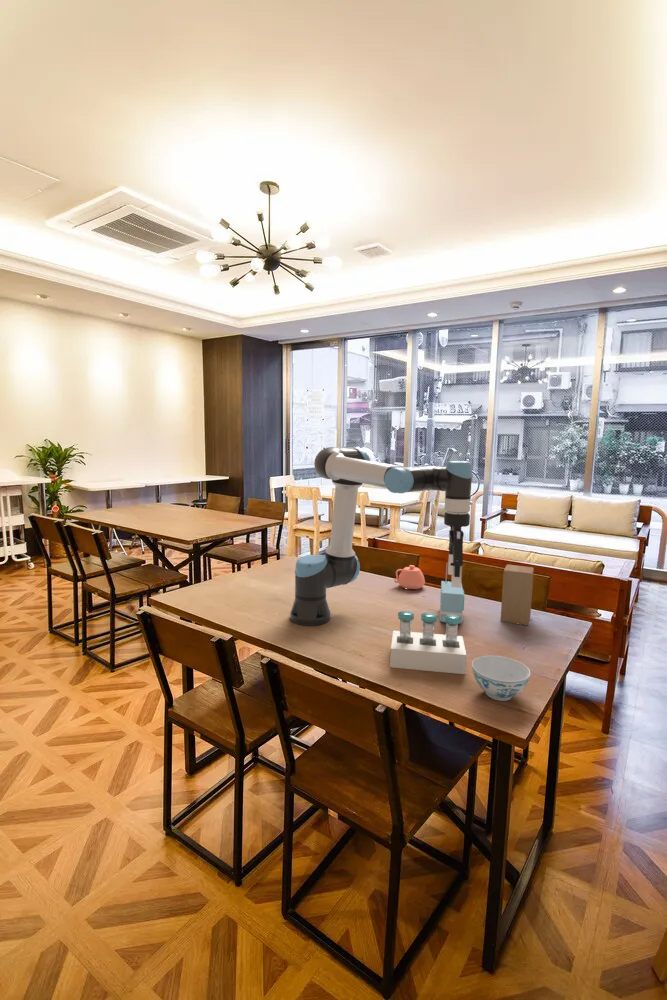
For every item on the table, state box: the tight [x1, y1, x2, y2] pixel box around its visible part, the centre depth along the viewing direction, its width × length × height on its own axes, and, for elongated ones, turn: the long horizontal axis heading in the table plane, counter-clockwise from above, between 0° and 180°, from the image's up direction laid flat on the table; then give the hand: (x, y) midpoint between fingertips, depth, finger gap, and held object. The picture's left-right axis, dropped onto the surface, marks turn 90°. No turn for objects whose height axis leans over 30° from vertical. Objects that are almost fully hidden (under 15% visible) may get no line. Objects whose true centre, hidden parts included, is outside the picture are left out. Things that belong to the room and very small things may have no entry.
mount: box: [389, 630, 467, 675], centre depth 156 cm, size 22×14×6 cm, turn 80°
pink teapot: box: [393, 564, 426, 590], centre depth 230 cm, size 12×14×10 cm
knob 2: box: [443, 614, 461, 648], centre depth 154 cm, size 5×5×9 cm
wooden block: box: [500, 564, 535, 626], centre depth 192 cm, size 10×10×20 cm
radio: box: [439, 562, 465, 624], centre depth 193 cm, size 16×9×20 cm, turn 168°
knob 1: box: [397, 610, 415, 644], centre depth 156 cm, size 5×5×9 cm
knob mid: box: [420, 612, 438, 646], centre depth 155 cm, size 5×5×9 cm
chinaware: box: [471, 655, 531, 702], centre depth 136 cm, size 15×15×8 cm
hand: (454, 580), depth 155 cm, fingers open, 13 cm apart
